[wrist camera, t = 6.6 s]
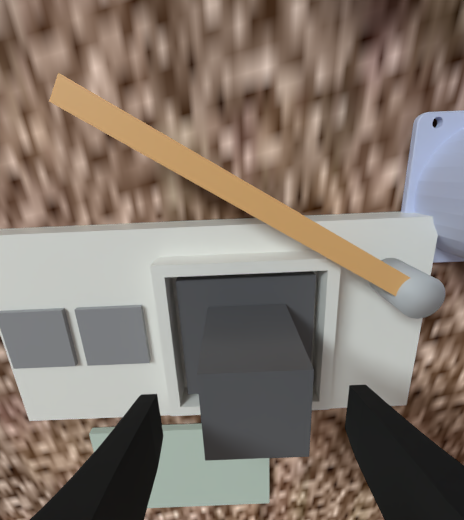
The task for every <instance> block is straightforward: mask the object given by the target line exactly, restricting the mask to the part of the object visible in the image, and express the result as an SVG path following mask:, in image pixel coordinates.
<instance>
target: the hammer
mask: <svg viewBox="0 0 464 520" xmlns="http://www.w3.org/2000/svg"><path fill="white" fill-rule="evenodd" d="M49 102H51V103H53V104H55V105H56V106H58V107H60V108H62V109H63V110H65V111H67V112H69V113H71V114H72V115H74V116H76V117H78V118H79V119H81V120H83V121H85V122H87V123H88V124H90V125H92V126H94V127H95V128H97V129H99V130H101V131H103V132H104V133H106V134H108V135H110V136H111V137H113V138H115V139H117V140H119V141H120V142H122V143H124V144H126V145H127V146H129V147H131V148H133V149H135V150H136V151H138V152H140V153H142V154H143V155H145V156H147V157H149V158H151V159H152V160H154V161H156V162H158V163H159V164H161V165H163V166H165V167H167V168H168V169H170V170H172V171H174V172H175V173H177V174H179V175H181V176H183V177H184V178H186V179H188V180H190V181H191V182H193V183H195V184H197V185H199V186H200V187H202V188H204V189H206V190H207V191H209V192H211V193H213V194H215V195H216V196H218V197H220V198H222V199H223V200H225V201H227V202H229V203H231V204H232V205H234V206H236V207H238V208H239V209H241V210H243V211H245V212H247V213H248V214H250V215H252V216H254V217H255V218H257V219H259V220H261V221H263V222H264V223H266V224H268V225H270V226H271V227H273V228H275V229H277V230H279V231H280V232H282V233H284V234H286V235H287V236H289V237H291V238H293V239H295V240H296V241H298V242H300V243H302V244H304V245H305V246H307V247H309V248H311V249H312V250H314V251H316V252H318V253H320V254H321V255H323V256H325V257H327V258H328V259H330V260H332V261H334V262H336V263H337V264H339V265H341V266H343V267H344V268H346V269H348V270H350V271H352V272H353V273H355V274H357V275H359V276H360V277H362V278H364V279H366V280H368V281H369V284H370V286H371V288H372V289H373V290H375V291H376V292H377V293H378V294H379V295H381V296H382V297H383V298H384V299H386V300H387V301H388V302H389V303H391V304H392V305H393V306H394V307H396V308H397V309H398V310H399V311H401V312H402V313H403V314H404V315H406V316H408V317H410V318H415V319H419V318H424V317H427V316H430V315H431V314H433V313H434V312H436V311H437V310H438V309H439V308H440V306H441V305H442V303H443V301H444V298H445V288H444V286H443V284H442V283H441V282H440V281H439V280H438V279H436V278H434V277H432V276H430V275H428V274H426V273H424V272H422V271H420V270H418V269H416V268H414V267H412V266H410V265H408V264H406V263H405V262H403V261H401V260H399V259H396V258H385V259H383V260H379V259H377V258H376V257H374V256H372V255H371V254H369V253H367V252H365V251H364V250H362V249H360V248H359V247H357V246H355V245H353V244H352V243H350V242H348V241H347V240H345V239H343V238H341V237H340V236H338V235H336V234H335V233H333V232H331V231H329V230H328V229H326V228H324V227H322V226H321V225H319V224H317V223H316V222H314V221H312V220H310V219H309V218H307V217H305V216H304V215H302V214H300V213H298V212H297V211H295V210H293V209H292V208H290V207H288V206H286V205H285V204H283V203H281V202H279V201H278V200H276V199H274V198H273V197H271V196H269V195H267V194H266V193H264V192H262V191H261V190H259V189H257V188H255V187H254V186H252V185H250V184H249V183H247V182H245V181H243V180H242V179H240V178H238V177H237V176H235V175H233V174H231V173H230V172H228V171H226V170H224V169H223V168H221V167H219V166H218V165H216V164H214V163H212V162H211V161H209V160H207V159H206V158H204V157H202V156H200V155H199V154H197V153H195V152H194V151H192V150H190V149H188V148H187V147H185V146H183V145H182V144H180V143H178V142H176V141H175V140H173V139H171V138H169V137H168V136H166V135H164V134H163V133H161V132H159V131H157V130H156V129H154V128H152V127H151V126H149V125H147V124H145V123H144V122H142V121H140V120H139V119H137V118H135V117H133V116H132V115H130V114H128V113H127V112H125V111H123V110H121V109H120V108H118V107H116V106H114V105H113V104H111V103H109V102H108V101H106V100H104V99H102V98H101V97H99V96H97V95H96V94H94V93H92V92H90V91H89V90H87V89H85V88H84V87H82V86H80V85H78V84H77V83H75V82H73V81H72V80H70V79H68V78H66V77H65V76H63V75H61V74H59V73H58V75H57V78H56V81H55V85H54V88H53V91H52V94H51V97H50V100H49Z"/></svg>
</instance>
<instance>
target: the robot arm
mask: <svg viewBox="0 0 464 520" xmlns="http://www.w3.org/2000/svg"><path fill="white" fill-rule="evenodd" d="M434 119H436V120H437V126H436V127H435V128H434V127H433V125H432V122H433V120H434ZM401 212H402V213H419V214H424V215H429V216H433V223H434V226H435V229H436V231H437V234H438V238H437V243H436V248H435V254H434V259H433V263H438V262H461V261H464V110H463V111H441V112H427V113H423V114H421V115H419V116H418V117H417V118H416V119H415V121H414V124H413V131H412V138H411V145H410V152H409V159H408V166H407V173H406V180H405V187H404V194H403V201H402V209H401ZM345 429H346V432H347V435H348V438H349V441H350V444H351V447H352V449H353V452H354V455H355V458H356V460H357V462H358V464H359V467H360V469H361V471H362V473H363V475H364V477H365V479H366V481H367V484H368V486H369V488H370V490H371V492H372V494H373V496H374V498H375V500H376V503H377V505H378V507H379V509H380V511H381V513H382V515H383V517H384V519H385V520H464V465H462V464H461V463H460V462H458V461H457V460H456V459H454V458H453V457H452V456H450V455H449V454H448V453H447V452H445V451H444V450H443V449H441V448H440V447H439V446H438V445H436V444H435V443H434V442H433V441H431V440H430V439H429V438H428V437H426V436H425V435H424V434H423V433H421V432H420V431H419V430H418V429H417V428H415V427H414V426H413V425H412V424H411V423H409V422H408V421H407V420H406V419H405V418H404V417H402V416H401V415H400V414H399V413H398V412H397V411H395V410H394V409H393V408H392V407H391V406H390V405H389V404H387V403H386V402H385V401H384V400H383V399H382V398H381V397H379V396H378V395H377V394H376V393H375V392H374V391H373V390H371V389H370V388H369V387H368V386H367V385H349V394H348V403H347V413H346V423H345ZM162 442H163V430H162V423H161V416H160V410H159V403H158V397H157V394H143V395H140V396H139V397H138V398H137V400H136V401H135V402H134V403H133V405H132V406H131V407H130V409H129V410H128V411H127V413H126V414H125V415H124V416H123V418H122V419H121V420H120V422H119V423H118V424H117V425H116V427H115V428H114V429H113V430H112V432H111V433H110V434H109V435H108V436H107V438H106V439H105V440H104V441H103V442H102V444H101V445H100V446H99V447H98V449H97V450H96V451H95V452H94V453H93V454H92V455H91V457H90V458H89V459H88V460H87V461H86V462H85V463H84V464H83V466H82V467H81V468H80V469H79V470H78V471H77V472H76V473H75V475H74V476H73V477H72V478H71V479H70V480H69V481H68V482H67V483H66V484H65V485H64V486H63V487H62V488H61V489H60V490H59V491H58V493H57V494H56V495H55V496H54V497H53V498H52V499H51V500H50V501H49V502H48V503H47V504H46V505H45V506H44V507H43V508H42V509H41V510H40V511H38V512H37V513H36V514H35V515H34V516H33V517H32V518H31V519H30V520H144V517H145V513H146V510H147V506H148V502H149V499H150V495H151V492H152V488H153V484H154V481H155V477H156V473H157V469H158V465H159V459H160V454H161V448H162Z"/></svg>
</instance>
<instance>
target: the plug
mask: <svg viewBox="0 0 464 520" xmlns="http://www.w3.org/2000/svg"><path fill="white" fill-rule="evenodd" d="M315 285H316V274H315V273H314V272H313V271H303V272H280V273H257V274H233V275H210V276H187V277H177V279H176V290H177V299H178V308H179V317H180V326H181V335H182V344H183V353H184V362H185V371H186V380H187V389H188V394H199V403H200V413H201V423H202V434H203V444H204V454H205V461H209V460H234V459H258V458H283V457H307V456H309V449H310V431H311V413H312V396H313V378H314V369H313V366H312V364H311V361H312V342H313V323H314V304H315Z"/></svg>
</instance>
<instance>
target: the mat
mask: <svg viewBox="0 0 464 520" xmlns="http://www.w3.org/2000/svg"><path fill="white" fill-rule="evenodd" d="M114 428H115V427H102V428H92V430H91V432H90V433H89V435H90V439H91V443H92V447H93V451H94V452H95V451H96V450H97V449H98V447H99V446H100V445H101V444H102V442H103V441H104V440H105V439H106V438H107V436H108V435H109V434H110V433H111V432H112V430H113V429H114ZM162 430H163V442H162V448H161V454H160V459H159V465H158V469H157V473H156V477H155V481H154V484H153V488H152V492H151V495H150V499H149V502H148V506H147V508H161V507H186V506H210V505H235V504H260V503H269V458H258V459H234V460H209V461H205V454H204V444H203V434H202V423H199V424H175V425H162Z"/></svg>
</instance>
